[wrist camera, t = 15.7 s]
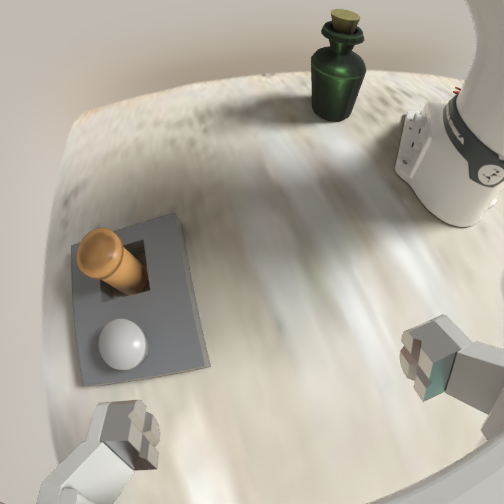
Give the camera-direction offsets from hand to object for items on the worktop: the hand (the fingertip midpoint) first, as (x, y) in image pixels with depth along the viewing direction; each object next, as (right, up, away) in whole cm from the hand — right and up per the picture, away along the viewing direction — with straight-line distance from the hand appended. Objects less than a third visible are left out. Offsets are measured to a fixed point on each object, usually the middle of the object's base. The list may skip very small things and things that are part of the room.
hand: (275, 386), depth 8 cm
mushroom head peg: (-16, +1, +28) cm, 32 cm away
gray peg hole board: (-15, -2, +27) cm, 31 cm away
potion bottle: (+12, +27, +37) cm, 48 cm away
